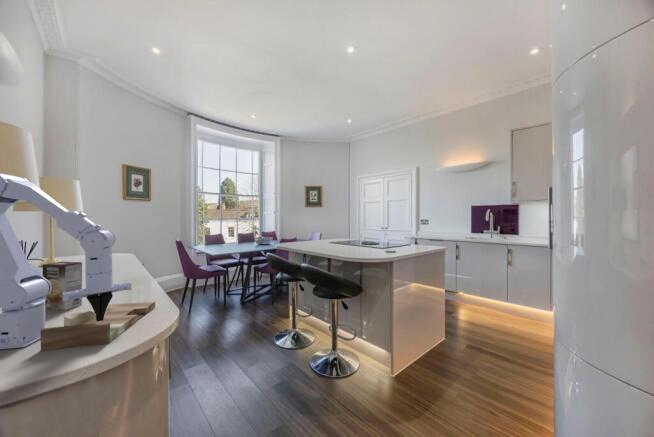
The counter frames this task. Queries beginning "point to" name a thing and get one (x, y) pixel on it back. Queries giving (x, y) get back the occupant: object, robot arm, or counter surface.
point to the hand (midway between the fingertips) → (99, 320)
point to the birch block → (80, 318)
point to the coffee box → (62, 284)
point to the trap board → (96, 327)
